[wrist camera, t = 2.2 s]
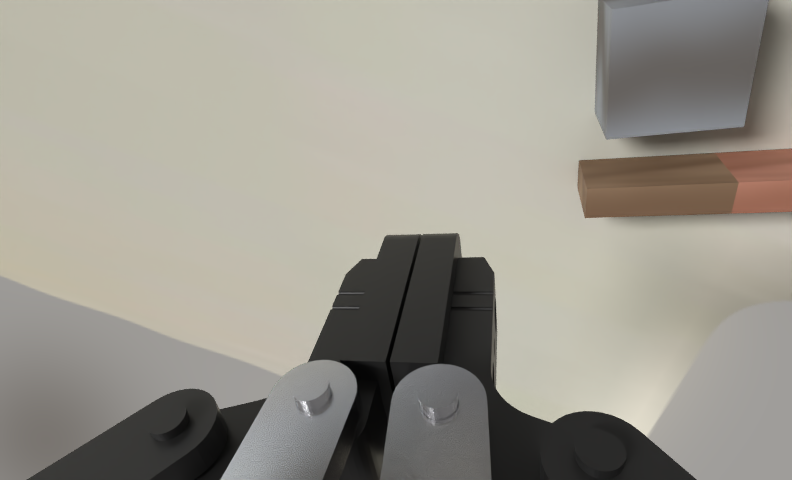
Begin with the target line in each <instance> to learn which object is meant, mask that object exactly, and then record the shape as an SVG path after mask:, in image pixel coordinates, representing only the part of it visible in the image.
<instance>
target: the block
mask: <svg viewBox="0 0 792 480" xmlns="http://www.w3.org/2000/svg"><path fill="white" fill-rule="evenodd" d="M768 2H769V0H598V26H597V58H596V90H595V114H596V116H597V118H598V121H599V123H600V126H601V128H602V131H603V133H604V135H605V138H606V139H617V138H628V137H638V136H649V135H660V134H671V133H682V132H692V131H703V130H714V129H725V128H736V127H744V125H745V120H746V114H747V109H748V104H749V99H750V94H751V89H752V84H753V79H754V73H755V68H756V63H757V58H758V53H759V48H760V43H761V37H762V32H763V27H764V22H765V17H766V12H767V7H768Z"/></svg>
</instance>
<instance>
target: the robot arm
mask: <svg viewBox="0 0 792 480" xmlns="http://www.w3.org/2000/svg"><path fill="white" fill-rule="evenodd" d="M496 359H497V318H496V298H495V278H494V272H493V270H492V269H491V267H490V266H489V264H488V263H487V261H486V259H485V258H484V257H472V258H462V255H461V245H460V237H459V234H458V233H452V234H423V235H421V234H418V235H387V236H385V238H384V241H383V243H382V246H381V249H380V252H379V254H378V257H377V259H362V260H361V261H360V262H359V263H357V264H356V265H355V266H354V267H353V268H352V269H351V270H350V271H349V272H348V273H347V274H346V276H345V278H344V280H343V283H342V285H341V287H340V290H339V295H337V296H336V299H335V301H334V303H333V309H332V310H330V313H329V315H328V317H327V320H326V322H325V324H324V326H323V329H322V331H321V333H320V336H319V338H318V340H317V343H316V345H315V347H314V349H313V352H312V354H311V356H310V359H309V361H308V362H307V363H304V364H302V365H299V366H297V367H295V368H293V369H292V370H290V371H289V372H287V373H286V374H285V375H284V376H283V377H281V379H280V380H279V381H278V382H277V383H276V384H275V386H274V387H273V389H272V390H271V393H270V394H269V396H268V397H267V398H265V399H262V400H258V401H254V402H250V403H246V404H241V405H237V406H233V407H228V408H224V409H220V410H219V408H218V406H217V404H216V402H215V400H214V398H213V397H212V396H211V395H210V394H209V393H207V392H205V391H203V390H199V389H184V390H179V391H176V392H172V393H170V394H167V395H165V396H163V397H161V398H159V399H157V400H156V401H154V402H152V403H151V404H149V405H148V406H146V407H144V408H143V409H141V410H139V411H138V412H136V413H134V414H133V415H131V416H130V417H128V418H126V419H125V420H123V421H121V422H120V423H118V424H117V425H115V426H113V427H112V428H110V429H109V430H107V431H105V432H104V433H102V434H100V435H99V436H97V437H95V438H94V439H92V440H91V441H89V442H88V443H86V444H84V445H83V446H81V447H79V448H78V449H76V450H74V451H73V452H71V453H70V454H68V455H66V456H65V457H63V458H61V459H60V460H58V461H57V462H55V463H53V464H52V465H50V466H48V467H47V468H45V469H44V470H42V471H40V472H39V473H37V474H35V475H34V476H32V477H31V478H29V479H27V480H696V479H695V478H694V477H693V476H692V475H691V474H689V473H688V472H687V471H686V470H685V469H683V468H682V467H681V466H680V465H679V464H678V463H676V462H675V461H674V460H673V459H672V458H671V457H669V456H668V455H667V454H666V453H665V452H664V451H662V450H661V449H660V448H659V447H658V446H657V445H655V444H654V443H653V442H652V441H651V440H649V439H648V438H647V437H646V436H645V435H644V434H642V433H641V432H640V431H639V430H638V429H636V428H635V427H634V426H632V425H631V424H629V423H627V422H625V421H624V420H622V419H620V418H617V417H615V416H612V415H609V414H605V413H600V412H593V411H582V412H575V413H571V414H568V415H565V416H563V417H561V418H559V419H557V420H556V421H555V422H553V423H550V422H547V421H544V420H541V419H538V418H535V417H533V416H530V415H527V414H525V413H523V412H521V411H519V410H517V409H515V408H514V407H512V406H511V405H510V404H508V403H507V402H506V401H505V400H504V399H503V398H502V397H501V396H500V394H499V393H498V391H497V390H496Z"/></svg>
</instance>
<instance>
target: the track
mask: <svg viewBox="0 0 792 480" xmlns="http://www.w3.org/2000/svg"><path fill="white" fill-rule="evenodd" d="M578 191H579V195H580V199H581V204H582V208H583V212H584V216H585V218H597V217H629V216H662V215H695V214H728V213H761V212H792V149H779V150H761V151H743V152H724V153H706V154H688V155H670V156H652V157H634V158H616V159H598V160H580V161H579V170H578Z"/></svg>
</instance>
